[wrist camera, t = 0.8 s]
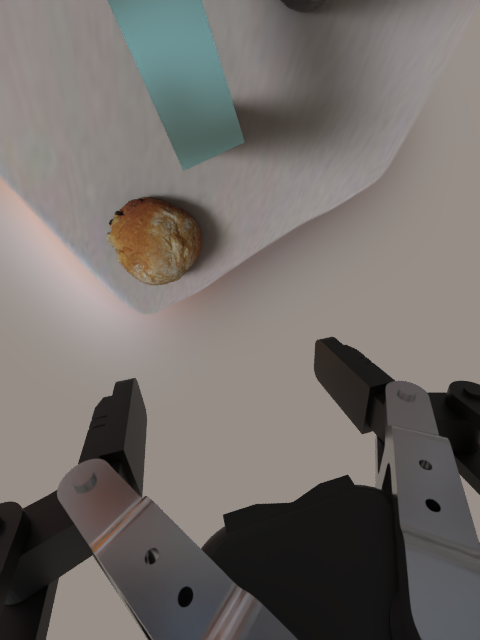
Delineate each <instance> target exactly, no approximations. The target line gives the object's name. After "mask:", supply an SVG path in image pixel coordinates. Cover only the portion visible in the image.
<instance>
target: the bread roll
mask: <svg viewBox="0 0 480 640" xmlns="http://www.w3.org/2000/svg"><path fill="white" fill-rule="evenodd" d="M109 224H110V228H111V229H112V230H111V232H108V233H107V241H108V243H109V244H110V245H111V246H113V247H114V248H115V249H116V253H117V254H118V255H117V257H118V261H119V263H120V264H121V265H123V266H124V268H125V269H126V270H127V271H128V272H129V273H130V274H131V275H132V276H133V277H135V278H136V279H138V280H139V281H141V282H143V283H146V284H149V285H163V284H168V283H169V282H174V281H177V280H179V279H180V278H181V277H182V276H183V275H184V274H185V272H186V271H187V270H188V269H189V268H190V267H191V266H192V265H193V263H194V262H195V261H196V260H197V259H198V257H199V255H200V253H201V249H202V236H201V232H200V229H199V227H198V225H197V223H196V222H195V220H194V219H193V218H192V216H190V215H189V214H188V213H187V212H186V211H184V210H182V209H181V208H177V207H176V206H172V205H171V204H170V203H166V202H164V201H160V200H158V199H154V198H148V197H144V198H141V199H135V200H131V201H129V202H128V203H127V204H126V205H125V206H124V207H122V208H121V209H120V211H116V212H115V215H114V219H112V220H110V222H109Z"/></svg>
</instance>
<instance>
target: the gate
mask: <svg viewBox="0 0 480 640" xmlns="http://www.w3.org/2000/svg"><path fill="white" fill-rule="evenodd" d="M108 2H109V5H110V7H111V9H112V11H113V14H114V16H115V18H116V20H117V23H118V25H119V27H120V29H121V32H122V34H123V36H124V38H125V41H126V43H127V45H128V47H129V50H130V52H131V54H132V56H133V59H134V61H135V63H136V65H137V68H138V70H139V72H140V74H141V77H142V79H143V81H144V83H145V85H146V88H147V90H148V92H149V94H150V97H151V99H152V101H153V103H154V106H155V108H156V110H157V112H158V115H159V117H160V119H161V121H162V124H163V126H164V128H165V130H166V133H167V135H168V137H169V139H170V142H171V144H172V146H173V148H174V151H175V153H176V155H177V157H178V160H179V162H180V164H181V166H182V169H183V171H184V170H186V169H188V168H191V167H193V166H195V165H197V164H199V163H201V162H204V161H206V160H208V159H210V158H212V157H214V156H216V155H219V154H221V153H223V152H225V151H227V150H229V149H232V148H234V147H236V146H238V145H240V144H242V143H245V141H244V138H243V134H242V131H241V128H240V125H239V121H238V118H237V115H236V111H235V108H234V105H233V102H232V98H231V95H230V92H229V88H228V85H227V82H226V79H225V75H224V72H223V69H222V65H221V62H220V59H219V56H218V52H217V49H216V46H215V43H214V39H213V36H212V33H211V29H210V26H209V23H208V20H207V16H206V13H205V10H204V6H203V3H202V0H108Z"/></svg>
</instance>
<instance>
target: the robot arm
mask: <svg viewBox="0 0 480 640" xmlns="http://www.w3.org/2000/svg"><path fill="white" fill-rule="evenodd" d="M314 361H315V362H314V371H315V375H316V377H317V379H318V381H319V382H320V383H321V384H322V386H323V387H324V388H325V389H326V391H327V392H328V393H329V394H330V396H331V397H332V398H333V399H334V400H335V402H336V403H337V404H338V405H339V407H341V409H342V410H343V411H344V413H345V414H346V415H347V416H348V418H349V419H350V420H351V421H352V422H353V424H354V425H355V426H356V427H357V428H358V430H359V431H360V432H361V433H362V434H364V433H368V432H371V431H374V432H375V434H376V439H375V455H376V456H375V459H376V486H375V488H374V487H370V486H365V485H354V483H353V482H352V480H351V478H350V477H349V476H348V475H345V476H342V477H340V478H336V479H334V480H330V481H327V482H324V483H320V484H318V485H317V486H316V487H314V488H313V489H311V490H310V491H309V492H307V493H306V494H304V495H303V496H301V497H300V498H299V499H297V500H296V501H294V502H291V503H276V504H255V505H252V506H249V507H246V508H243V509H239V510H236V511H233V512H230V513H227V514H224V515H223V518H224V523H225V527H223V528H222V529H220V530H219V531H217V532H216V533H215V534H214V535H213V536H212V537H211V538H210V539H209V540H208V541H207V542H206V543H205V544H204V546H203V547H202V548H201V549H200V548H199V547H198V546H197V545H196V544H195V543H194V542H193V541H192V540H191V539H190V538H189V537H188V536H187V535H186V534H185V533H184V532H183V531H182V530H181V529H180V528H179V527H178V526H177V525H176V524H175V523H174V522H173V521H172V520H171V519H170V518H169V517H168V516H167V515H166V514H165V513H164V512H163V511H162V510H161V509H160V508H159V507H158V506H157V505H156V504H155V503H154V502H153V501H152V500H151V499H150V498H149V497H147V496H145V497H144V498H142V490H143V475H144V459H145V443H146V427H147V415H146V409H145V405H144V402H143V398H142V395H141V392H140V389H139V385H138V382H137V380H136V378H133V379H128V380H124V381H118V382H116V383H115V386H114V390H113V395H112V396H108V397H104V398H103V399H102V400H101V401H100V403H99V404H98V405H97V406H96V407H95V410H94V413H93V417H92V421H91V423H90V426H89V430H88V433H87V436H86V440H85V443H84V446H83V450H82V453H81V456H80V459H79V463H78V465H77V466H75V467H74V468H73V469H71V470H70V471H69V472H68V473H67V474H66V475H65V477H64V478H63V479H62V481H61V482H60V484H59V487H58V489H57V490H56V491H55V492H53V493H51V494H49V495H48V496H46V497H44V498H42V499H40V500H39V501H37V502H35V503H33V504H31V505H29V506H27V507H25V508H23V509H22V507H21V506H20V505H19V504H18V503H16V502H4V503H1V504H0V640H46V636H47V631H48V627H49V622H50V617H51V613H52V608H53V603H54V598H55V593H56V589H57V584H58V580H59V577H60V576H62V575H63V574H65V573H66V572H68V571H69V570H71V569H72V568H74V567H75V566H77V565H78V564H80V563H81V562H83V561H84V560H86V559H88V558H89V557H91V556H92V555H93V557H94V558H95V560H96V561H97V563H98V564H99V566H100V567H101V569H102V571H103V572H104V574H105V575H106V577H107V578H108V580H109V581H110V583H111V584H112V586H113V587H114V589H115V590H116V592H117V593H118V595H119V596H120V598H121V599H122V601H123V602H124V604H125V606H126V607H127V609H128V610H129V612H130V613H131V615H132V617H133V618H134V620H135V621H136V623H137V624H138V626H139V627H140V629H141V630H142V632H143V633H144V635H145V637H146V638H147V640H480V543H479V541H478V538H477V534H476V530H475V527H474V524H473V520H472V517H471V513H470V510H469V506H468V503H467V499H466V496H465V492H464V489H463V486H462V482H461V479H460V476H459V474H460V475H461V476H462V477H463V478H464V479H465V480H466V481H467V482H468V483H469V484H470V485H471V486H472V487H473V488H474V489H475V490H476V492H477V493H478V494H479V495H480V385H479V384H476V383H473V382H468V381H455V382H452V383H451V384H450V386H449V388H448V391H447V393H427V392H426V391H425V390H424V389H422V388H421V387H419V386H417V385H415V384H413V383H410V382H406V381H395V380H394V379H392V378H391V377H390V376H389V375H387V374H386V373H385V372H384V371H383V370H381V369H380V368H379V367H378V366H376V365H375V364H374V363H372V362H371V361H370V360H369V359H368V358H365V356H364V355H363V354H362V353H360V352H359V351H358V350H357V349H354V348H352V347H350V346H348V345H343V344H342V343H340V342H339V341H338V340H337V339H336V338H334V337H329V338H325V339H320V340H317V341H316V343H315V359H314Z"/></svg>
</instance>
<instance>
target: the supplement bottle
mask: <svg viewBox="0 0 480 640" xmlns="http://www.w3.org/2000/svg"><path fill="white" fill-rule="evenodd" d="M281 1H282V2H283V3H284V4H285V5H286V6H287V7H289V8H291V9H293V10H296V11H309V10H311V9H314V8H316V7H317V6H319V5H320V4H322V3H323V2H324V1H325V0H281Z"/></svg>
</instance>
